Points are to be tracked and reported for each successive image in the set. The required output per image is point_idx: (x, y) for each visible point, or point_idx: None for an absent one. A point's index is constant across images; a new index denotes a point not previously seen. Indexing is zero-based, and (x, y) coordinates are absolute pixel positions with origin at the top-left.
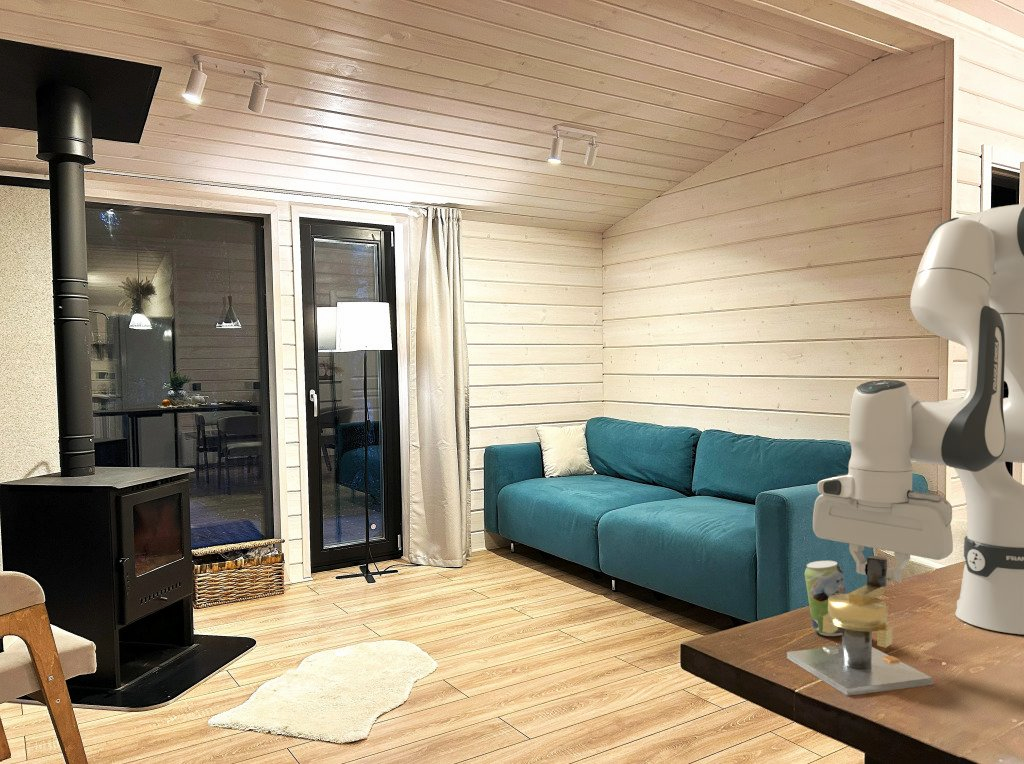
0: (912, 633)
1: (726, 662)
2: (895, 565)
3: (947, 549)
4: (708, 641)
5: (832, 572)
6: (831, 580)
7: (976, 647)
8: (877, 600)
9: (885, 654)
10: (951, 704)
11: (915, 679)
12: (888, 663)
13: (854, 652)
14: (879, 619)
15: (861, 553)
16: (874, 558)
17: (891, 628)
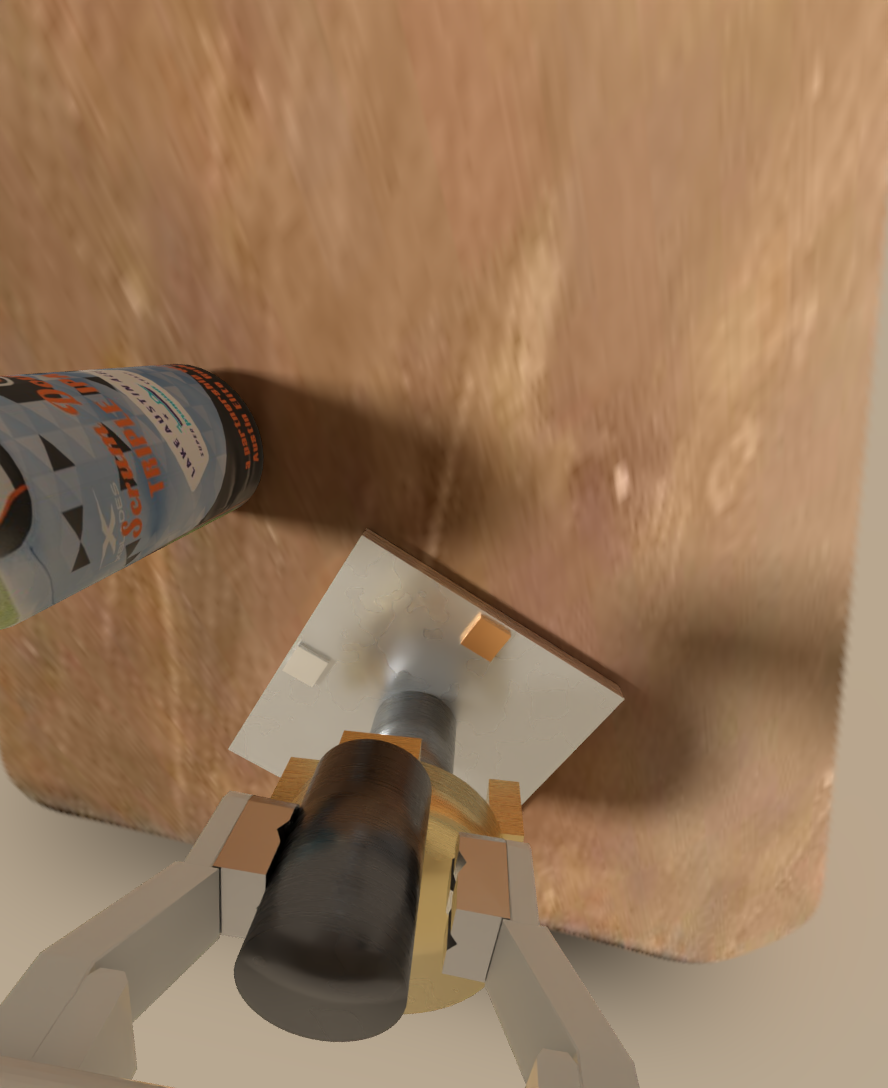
0: (443, 178)
1: (153, 834)
2: (512, 1043)
3: None
4: (22, 744)
5: (10, 601)
6: (59, 596)
7: (724, 174)
8: (440, 873)
9: (455, 599)
10: (680, 773)
11: (584, 736)
12: (487, 667)
13: None
14: None
15: (143, 942)
16: (304, 996)
17: (522, 840)
